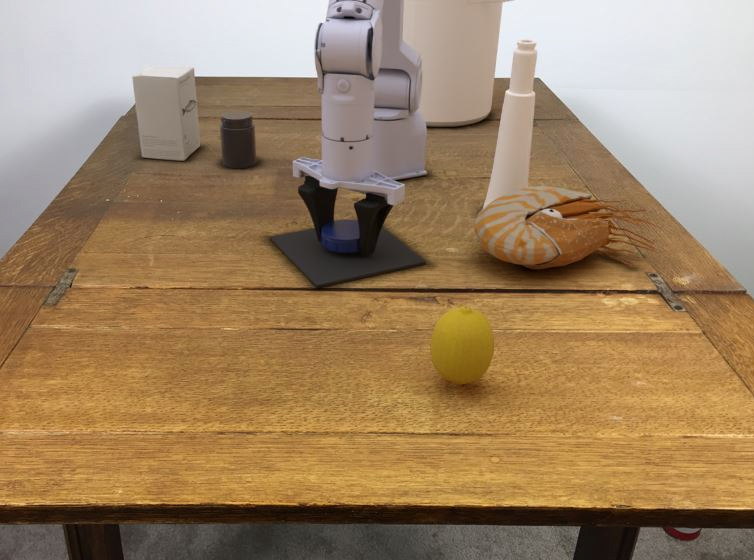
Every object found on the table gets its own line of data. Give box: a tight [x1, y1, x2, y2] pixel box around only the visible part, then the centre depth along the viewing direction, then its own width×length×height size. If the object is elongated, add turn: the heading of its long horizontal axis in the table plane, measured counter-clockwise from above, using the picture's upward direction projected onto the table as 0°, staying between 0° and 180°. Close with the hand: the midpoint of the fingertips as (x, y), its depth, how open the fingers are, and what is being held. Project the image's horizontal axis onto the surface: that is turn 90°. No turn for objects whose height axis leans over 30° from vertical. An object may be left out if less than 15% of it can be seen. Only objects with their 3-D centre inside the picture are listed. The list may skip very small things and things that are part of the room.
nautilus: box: [473, 185, 661, 270], centre depth 91 cm, size 8×22×15 cm
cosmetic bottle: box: [482, 39, 538, 210], centre depth 98 cm, size 6×6×22 cm
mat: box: [269, 219, 427, 289], centre depth 94 cm, size 14×14×1 cm
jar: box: [219, 110, 257, 170], centre depth 119 cm, size 5×5×7 cm
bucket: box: [403, 0, 514, 128], centre depth 138 cm, size 26×22×25 cm
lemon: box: [429, 305, 495, 386], centre depth 69 cm, size 6×6×8 cm
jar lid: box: [321, 219, 360, 253], centre depth 93 cm, size 6×6×2 cm
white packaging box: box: [131, 64, 201, 162], centre depth 121 cm, size 7×7×13 cm
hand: (345, 246), depth 94 cm, fingers closed on jar lid, 6 cm apart
